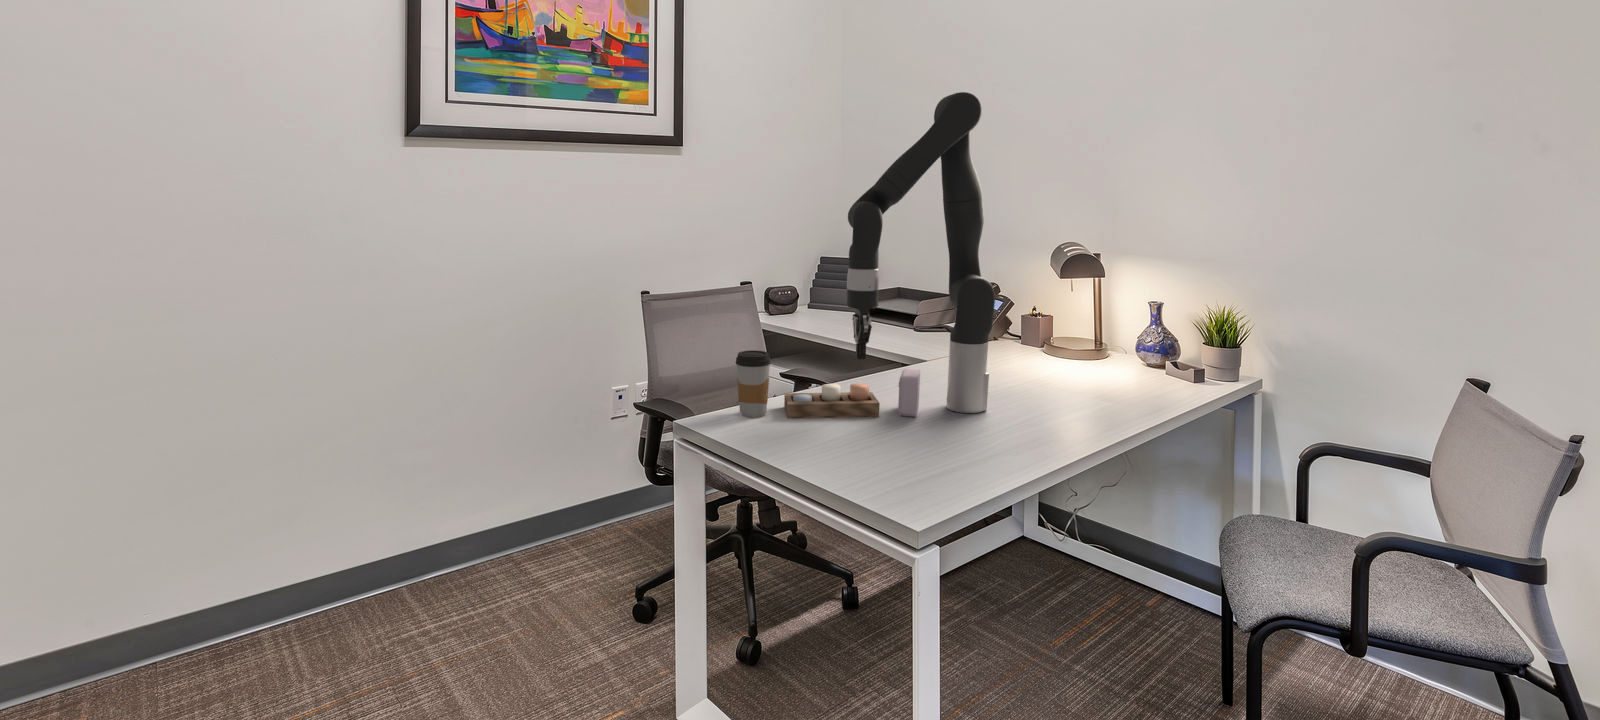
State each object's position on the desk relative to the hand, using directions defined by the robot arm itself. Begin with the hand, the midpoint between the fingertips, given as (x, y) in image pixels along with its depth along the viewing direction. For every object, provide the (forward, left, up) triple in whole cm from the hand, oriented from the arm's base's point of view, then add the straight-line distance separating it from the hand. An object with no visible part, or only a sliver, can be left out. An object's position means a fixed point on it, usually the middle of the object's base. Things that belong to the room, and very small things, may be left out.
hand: (860, 358), depth 190 cm
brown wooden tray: (+7, 0, -13) cm, 15 cm away
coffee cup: (+26, +1, -14) cm, 29 cm away
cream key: (+7, 0, -10) cm, 12 cm away
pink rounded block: (0, 0, -10) cm, 10 cm away
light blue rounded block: (+14, 0, -12) cm, 19 cm away
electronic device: (-12, +1, -14) cm, 18 cm away
